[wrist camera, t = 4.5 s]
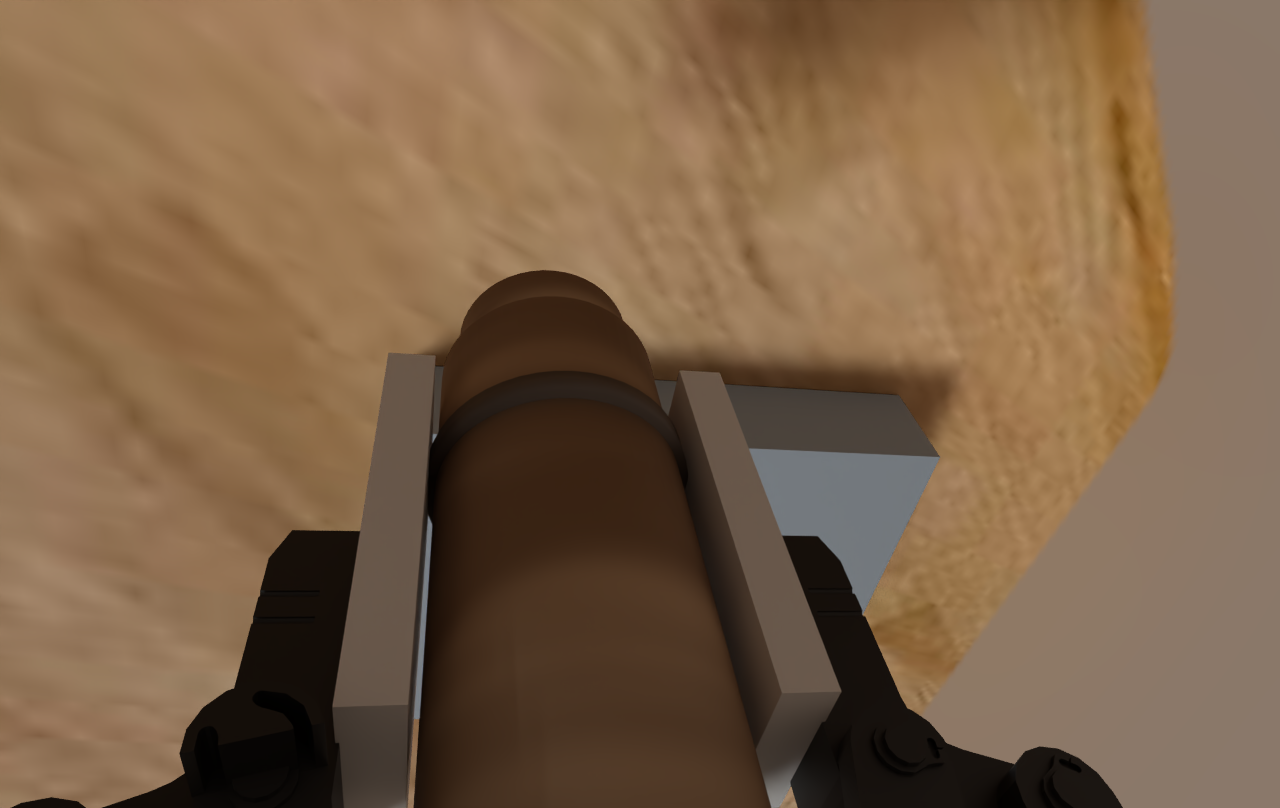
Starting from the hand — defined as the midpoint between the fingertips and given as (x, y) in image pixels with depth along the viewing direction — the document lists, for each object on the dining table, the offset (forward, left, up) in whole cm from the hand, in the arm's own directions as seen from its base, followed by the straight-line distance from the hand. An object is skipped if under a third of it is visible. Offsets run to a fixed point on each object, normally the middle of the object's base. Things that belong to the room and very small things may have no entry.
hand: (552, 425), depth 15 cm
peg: (0, 0, -3) cm, 3 cm away
